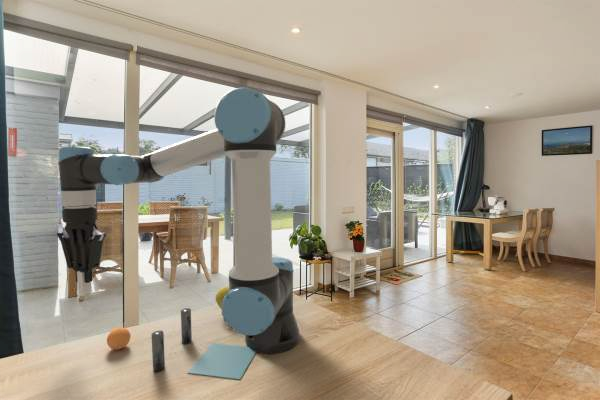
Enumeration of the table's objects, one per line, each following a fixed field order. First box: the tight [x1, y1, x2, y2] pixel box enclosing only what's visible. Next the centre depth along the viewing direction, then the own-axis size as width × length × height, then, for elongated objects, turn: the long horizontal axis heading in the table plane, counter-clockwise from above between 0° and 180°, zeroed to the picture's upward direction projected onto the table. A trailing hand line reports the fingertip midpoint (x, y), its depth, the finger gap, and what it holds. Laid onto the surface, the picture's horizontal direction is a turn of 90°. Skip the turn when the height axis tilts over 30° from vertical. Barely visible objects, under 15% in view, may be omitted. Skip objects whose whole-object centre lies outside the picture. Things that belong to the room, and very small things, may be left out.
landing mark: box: [187, 342, 257, 381], centre depth 80 cm, size 13×13×1 cm
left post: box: [150, 330, 166, 374], centre depth 76 cm, size 3×3×9 cm
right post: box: [180, 307, 193, 345], centre depth 88 cm, size 3×3×9 cm
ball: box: [106, 327, 131, 350], centre depth 85 cm, size 6×6×6 cm
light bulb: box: [215, 286, 229, 320], centre depth 103 cm, size 7×7×10 cm
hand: (85, 293), depth 86 cm, fingers closed
